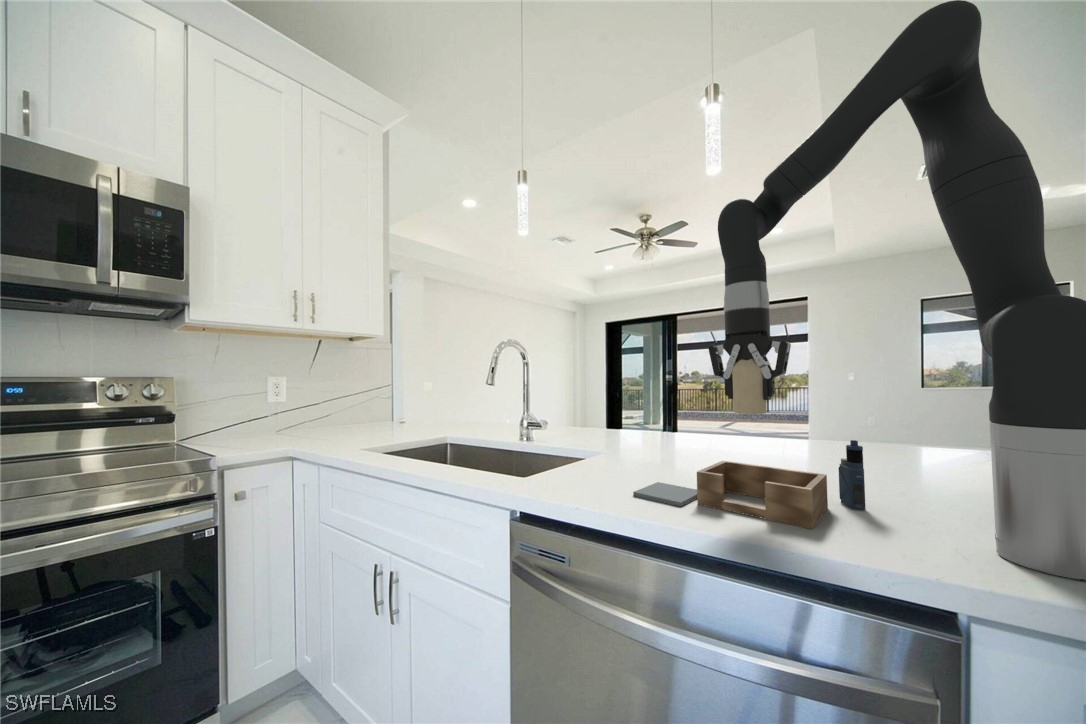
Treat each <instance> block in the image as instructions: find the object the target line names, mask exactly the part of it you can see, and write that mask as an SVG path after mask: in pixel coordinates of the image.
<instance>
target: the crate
mask: <svg viewBox="0 0 1086 724" xmlns="http://www.w3.org/2000/svg"><path fill="white" fill-rule="evenodd" d="M827 475H828V474H825V473H818V472H811V471H803V470H802V471H801V470H796V469H795V470H794V469H790V468H789V469H788V468H780V467H774V466H765V465H759V464H752V463H751V464H750V463H745V462H744V463H743V462H734V461H729V460H728V461H727V460H720V461H719V462H716V463H714V464H712V465H710V466H707V467H704V468H701V469H700V470H697V471H696V489H697V499H696V500H697V501H696V502H697V503H698V504H697V505H699V504H702V505H701V506H704V505H706V506H705V507H708V506H710V507H709V508H713V507H715V508H714V509H718V508H720V509H719V510H722V509H725V510H724V511H727V510H730V511H729V512H731V511H735V512H734V513H736V512H739V513H738V514H740V513H744V514H743V515H745V514H748V515H747V516H750V515H753V516H752V517H754V516H757V517H756V518H759V517H762V518H761V519H763V518H766V519H765V520H768V519H770V520H769V521H773V522H777V521H778V523H783V524H787V525H792V526H797V527H800V526H802V528H805V527H806V529H809V528H811V529H810V530H813V529H814V527H815V526H816V525H817V524H816V523H818V522H819V521H820V519H821V518H822V517H823V516H824V515H825V513H826V512H827V511H828V509H829V506H828V501H829V500H828V479H827V478H828V477H827ZM726 491H728V493H733V492H734V493H733V494H738V493H739V495H743V494H745V495H744V496H749V495H750V496H749V497H754V496H755V498H759V497H760V498H761V499H764V500H765V501H764V503H765V504H764V505H765V507H762V506H757V505H752V504H748V503H743V502H737V501H733V500H727V499H725V493H727V492H726ZM812 528H813V529H812Z"/></svg>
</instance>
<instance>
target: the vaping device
mask: <svg viewBox="0 0 1086 724" xmlns="http://www.w3.org/2000/svg"><path fill="white" fill-rule="evenodd" d="M849 442H850V443H849V444H846V445H845V453H846V458H840V463H839V464H838V465H839V466H838V490H839V492H838V493H839V499H840V503H841V504H843V505H844V506H845V507H847V508H848V509H851V510H856V511H867V510H866V489H865V488H866V486H865V484H866V483H865V468H864V447H863V446H862V445H859V441H858V440H854V439H851V440H850V441H849Z"/></svg>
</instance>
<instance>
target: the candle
mask: <svg viewBox="0 0 1086 724" xmlns="http://www.w3.org/2000/svg"><path fill="white" fill-rule="evenodd" d="M763 379H765V377H764V376H763V374H762V372H761V368H760V367H758V365H757V364H756V362H755V360H753V359H750V360H739V361H738V362H737V363H736V364H735V365H734V366H733V368H732V381H733V399H732V406H733V407H732V408H733V413H735V414H744V415H745V414H747V415H762V414H767V411H768V410H767V408H768V407H767V405H768V404H767V400H764V394H763Z"/></svg>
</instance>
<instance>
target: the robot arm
mask: <svg viewBox="0 0 1086 724" xmlns="http://www.w3.org/2000/svg"><path fill="white" fill-rule="evenodd" d="M982 23H983V22H982V15H981V12H980V10H979V7H977V5H975V4H974V3H972V2H969V0H968V1H967V0H949V1H946V2H942V3H940V4H937V5H935V6H933V7H930V8H929V9H927V10H926V11H924V12H923V13H922V14H920V15H918V16H917V17H916V18H915V19H913V20H912V21H911V22H910V23H909V24H908V25H907V26H906V27H905V28H904V29H903V30H902V31H901V32H900V34H899V35H898V36H897V37H896V38H895V39H894V40H893V42H891V44H890V45H889V46H888V47H887V48H886V50H885V51H884V52H883V53H882V55H881V56H880V57H879V58H878V59H877V61H876V62H875V63H874V64H873V66H871V68H870V69H869V70H868V71H867V72H866V74H865V75H864V76H863V77H862V78H861V79H860V81H859V82H858V83H856V85H855V86H854V87H853V88H852V89H851V90H850V91H849V93H848V94H846V96H845V97H844V99H842V101H841V102H840V103H838V105H837V106H836V108H834V110H833V111H832V112H831V113H829V115H828V116H827V117H826V118H825V120H824V121H822V122H821V123H820V125H818V126H817V127H816V128H815V129H814V131H812V132H811V133H810V134H809V136H808V137H806V139H805V140H804V141H802V142H801V143H800V144H799V145H798V146H797V147H796V148H794V150H793V151H792V152H791V153H789V155H788V156H786V157H785V158H784V159H783V160H782V161H781V162H780V163H778V165H777V166H776V167H775V168H774V169H773V170H772V171H770V172H769V173H768V175H767V176H766V177H765V178H764V180H763V184H762V185H763V190H762V192H761V193H760V194H759V195H757V197H756V198H755V199H754V201H752V200H749V199H746V198H737V199H733V200H731V201H730V202H728V203H727V204H726V205H725V206H724V207H723V208H722V210H721V212H720V213H719V214H720V215H719V217H718V220H717V235H718V241H719V245H720V246H719V247H720V250H721V255H722V258H723V261H724V263H723V264H724V296H723V313H724V315H723V316H724V335H725V336H724V337H725V338H724V341H723V343H722V344H718V345H710V346H709V347H708V353H709V357H710V362H711V367H712V372H713V376H717V377H719V378H722V379H723V381H724V394H725V396H727V397H728V400H733V381H732V368H733V366H734V365H735V364H736V363H737V362H738V361H739V360H750V359H753V360H755V362H756V364H757V365H758V367H760V368H761V372H762V374H763V376H764V377H765V379H763V394H764V400H766V401H770V400H772V397H775V394H776V387H775V382H776V381H775V380H776V378H778V377H781V376H784V375H786V374H787V370H788V365H789V364H788V363H789V357H790V353H791V351H790V350H791V347H792V346H791V342H789V341H783V340H782V341H775V340H773V338H772V337H771V323H770V322H771V321H770V319H771V317H770V295H769V288H768V283H767V281H768V279H767V261H766V257H765V254H763V252H762V250H761V247H760V241H761V240H762V239H764V238H765V237H767V236H768V234H770V232H772V230H774V228H775V227H777V225H778V224H779V223H780V221H782V219H784V217H785V216H786V215H787V213H788V212H789V211H790V209H791V208H793V206H794V204H796V203H797V202H798V201H799V200H801V199H802V198H803V197H804V196H805V195H807V194H808V193H809V192H810V191H812V190H813V189H814V188H816V186H818V184H820V183H821V182H822V181H823V180H824V179H825V178H826V177H828V176H829V175H830V174H831V173H832V172H833V171H834V170H835V168H837V167H838V166H839V164H840V163H841V162H842V161H843V160H844V159H845V158H846V156H847V155H848V154H849V152H851V150H852V149H853V147H854V146H856V144H857V143H858V141H859V140H861V138H862V137H863V135H864V134H865V133H866V132H867V131H868V130H869V129H870V127H872V125H874V123H875V122H876V121H877V120H878V119H879V118H880V117H881V116H882V115H883V114H884V113H885V112H886V111H888V110H889V108H891V107H892V106H893V105H894V104H895V103H896V102H897V101H898V100H899V99H900V100H901V102H902V103H903V105H904V106H905V108H906V110H907V111H908V114H909V115H910V117H911V119H912V121H913V123H914V125H915V128H916V129H917V132H918V134H919V137H920V139H921V143H922V144H921V145H922V150H923V151H922V152H923V157H924V164H925V170H926V175H927V179H928V185H929V187H930V191H931V194H932V198H933V200H934V203H935V206H936V209H937V212H938V214H939V217H940V220H941V223H942V224H943V228H944V230H945V231H946V234H947V237H948V239H949V240H950V243H951V246H952V247H953V251H954V252H955V254H956V256H957V259H958V261H959V263H960V265H961V266H962V269H963V270H964V273H965V276H966V278H967V280H968V284H969V286H970V287H969V288H970V290H971V295H972V299H973V305H974V309H975V314H976V319H977V325H978V326H977V327H978V331H979V338H980V343H981V345H982V348H983V350H984V351H985V352H986V354H987V355H988V356H989V357H990V358H991V359H992V362H991V363H992V364H991V365H992V391H991V397H990V400H989V404H988V413H989V414H988V417H989V435H990V437H989V438H990V453H991V454H990V457H991V473H992V492H993V493H992V495H993V509H994V510H993V511H994V527H995V528H994V530H995V533H994V540H995V544H996V545H995V549H996V553H997V554H998V555H999V556H1000V557H1002V558H1004V559H1006V560H1008V561H1009V562H1012V563H1015V564H1018V565H1019V566H1022V567H1026V568H1029V569H1031V570H1036V571H1037V572H1041V573H1042V572H1043V573H1045V574H1050V575H1054V576H1060V577H1064V578H1068V579H1075V580H1080V579H1085V580H1084V581H1086V300H1084V299H1082V298H1079V297H1076V296H1071V295H1065V294H1062V293H1061V291H1060V289H1059V287H1058V285H1057V283H1056V281H1055V279H1054V277H1053V275H1052V273H1051V270H1050V267H1049V265H1048V261H1047V257H1046V251H1045V212H1044V211H1045V209H1044V199H1043V194H1042V193H1043V192H1042V189H1041V186H1040V183H1039V180H1038V176H1037V174H1036V172H1035V169H1034V167H1033V164H1032V162H1031V158H1030V156H1029V154H1028V151H1027V150H1026V148H1025V146H1024V144H1023V143H1022V141H1021V139H1020V138H1019V137H1018V135H1017V134H1016V133H1015V132H1014V131H1013V130H1012V129H1011V128H1010V127H1009V125H1008V124H1007V123H1006V122H1004V120H1003V119H1002V118H1001V117H1000V116H999V115H998V114H997V113H996V112H995V110H994V109H993V107H992V106H991V103H990V102H989V98H988V96H987V92H986V89H985V85H984V82H983V81H984V80H983V77H982V73H981V66H980V44H981V37H982V36H981V35H982V26H983V25H982ZM772 348H773V349H774V353H775V354H777V355H776V356H777V358H776V362H775V368H774V369H773V367H772V366H771V363H770V361H769V359H768V357H767V355H768V353H769V352H770V351H771V349H772ZM724 350H725V352H726V353H727V354H728V356H729V358H728V360H727V362H726V365H725V366H726V368H724V363H723V358H722V356H723V354H724Z"/></svg>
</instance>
